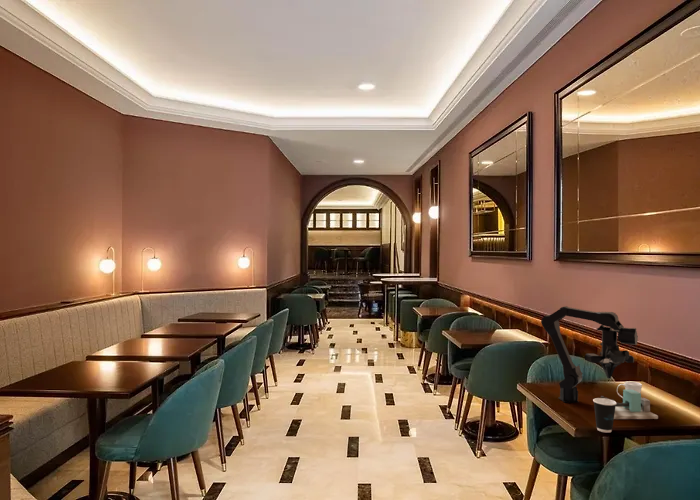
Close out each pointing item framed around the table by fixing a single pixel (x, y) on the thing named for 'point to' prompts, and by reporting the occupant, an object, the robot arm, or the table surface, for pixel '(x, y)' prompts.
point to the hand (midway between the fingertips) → (608, 378)
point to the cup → (631, 386)
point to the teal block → (632, 400)
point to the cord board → (626, 414)
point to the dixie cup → (604, 414)
